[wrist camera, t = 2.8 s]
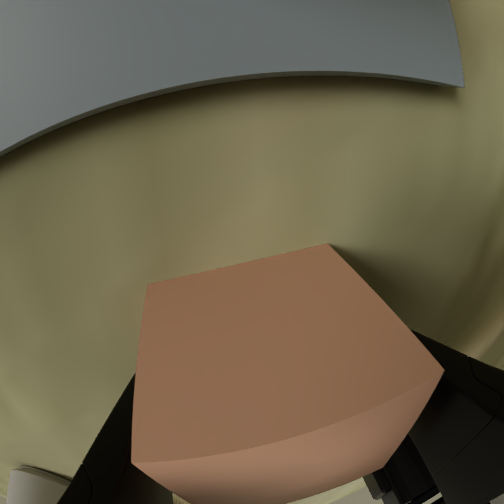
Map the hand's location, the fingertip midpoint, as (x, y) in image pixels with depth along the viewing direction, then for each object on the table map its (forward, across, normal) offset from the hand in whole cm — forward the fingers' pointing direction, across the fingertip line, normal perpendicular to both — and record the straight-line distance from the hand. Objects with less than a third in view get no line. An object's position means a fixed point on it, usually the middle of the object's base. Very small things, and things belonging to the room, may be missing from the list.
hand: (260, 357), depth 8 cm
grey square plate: (+1, 0, -14) cm, 14 cm away
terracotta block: (+1, 0, 0) cm, 1 cm away
